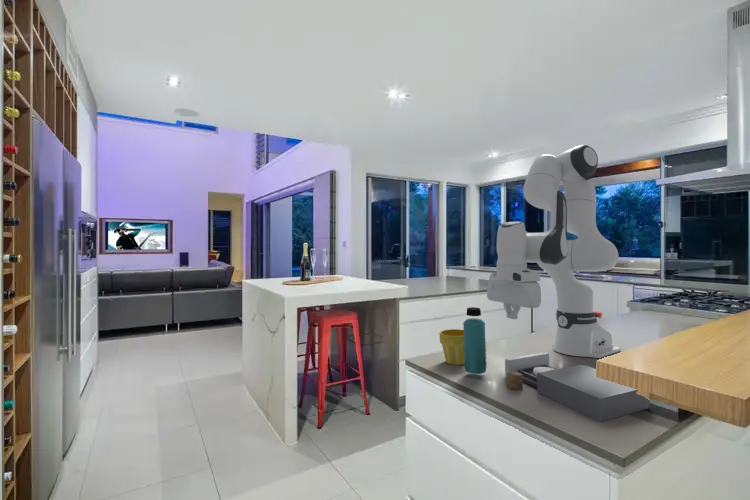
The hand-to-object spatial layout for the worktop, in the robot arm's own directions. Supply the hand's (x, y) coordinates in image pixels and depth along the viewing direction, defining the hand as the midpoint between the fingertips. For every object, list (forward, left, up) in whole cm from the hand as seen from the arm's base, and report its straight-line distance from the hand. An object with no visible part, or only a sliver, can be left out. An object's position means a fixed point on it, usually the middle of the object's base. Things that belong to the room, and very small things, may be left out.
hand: (511, 318), depth 119 cm
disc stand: (+11, +13, -15) cm, 23 cm away
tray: (0, +14, -15) cm, 21 cm away
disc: (0, +13, -14) cm, 19 cm away
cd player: (0, +27, -15) cm, 31 cm away
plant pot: (+13, -12, -16) cm, 23 cm away
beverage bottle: (+15, +1, -16) cm, 21 cm away
